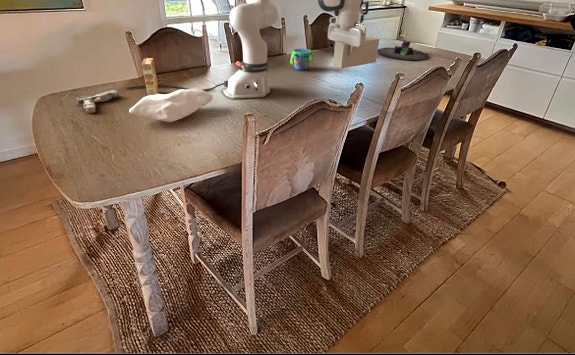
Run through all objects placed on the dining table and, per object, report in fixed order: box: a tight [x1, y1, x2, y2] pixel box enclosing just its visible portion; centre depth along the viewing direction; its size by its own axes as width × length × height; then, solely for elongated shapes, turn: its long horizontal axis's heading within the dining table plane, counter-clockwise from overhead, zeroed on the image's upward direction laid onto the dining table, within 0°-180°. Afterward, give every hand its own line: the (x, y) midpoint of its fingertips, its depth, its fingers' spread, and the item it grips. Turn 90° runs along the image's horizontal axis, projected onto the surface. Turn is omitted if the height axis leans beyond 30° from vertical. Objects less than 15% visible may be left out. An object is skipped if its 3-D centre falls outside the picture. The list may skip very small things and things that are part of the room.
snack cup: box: [289, 48, 314, 71], centre depth 208 cm, size 16×10×10 cm
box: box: [332, 36, 380, 70], centre depth 169 cm, size 22×6×11 cm, turn 124°
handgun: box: [76, 89, 120, 114], centre depth 155 cm, size 3×18×15 cm
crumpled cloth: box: [129, 88, 214, 123], centre depth 147 cm, size 24×35×9 cm
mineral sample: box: [377, 40, 430, 61], centre depth 247 cm, size 35×35×9 cm
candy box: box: [141, 57, 160, 96], centre depth 163 cm, size 9×4×15 cm, turn 13°
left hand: (344, 53), depth 165 cm, fingers closed on box, 6 cm apart
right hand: (352, 22), depth 191 cm, fingers open, 8 cm apart
